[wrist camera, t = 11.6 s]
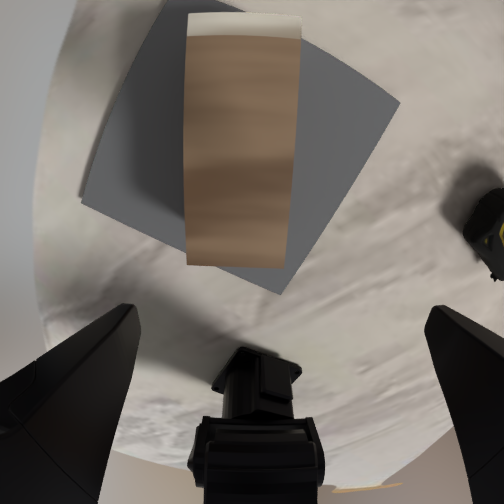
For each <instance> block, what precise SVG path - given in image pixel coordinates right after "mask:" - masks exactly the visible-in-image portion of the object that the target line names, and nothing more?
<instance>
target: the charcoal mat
mask: <svg viewBox="0 0 504 504" xmlns="http://www.w3.org/2000/svg"><path fill="white" fill-rule="evenodd" d="M209 12H245V11H242V10H240V9H237V8H235V7H232V6H230V5H227V4H224V3H222V2H219V1H216V0H168V1H167V3H166V4H165V6H164V7H163V9H162V11H161V12H160V14H159V16H158V17H157V19H156V21H155V23H154V24H153V26H152V28H151V30H150V31H149V33H148V35H147V37H146V39H145V41H144V42H143V44H142V46H141V48H140V50H139V52H138V54H137V56H136V58H135V60H134V62H133V64H132V66H131V68H130V70H129V72H128V74H127V77H126V79H125V81H124V83H123V85H122V88H121V90H120V92H119V94H118V97H117V99H116V101H115V104H114V106H113V109H112V111H111V114H110V116H109V119H108V121H107V124H106V127H105V129H104V132H103V135H102V137H101V140H100V143H99V146H98V149H97V152H96V155H95V158H94V161H93V164H92V167H91V170H90V173H89V177H88V180H87V183H86V187H85V190H84V194H83V198H82V201H81V203H82V204H84V205H86V206H88V207H90V208H92V209H94V210H96V211H98V212H100V213H102V214H104V215H107V216H109V217H111V218H113V219H115V220H117V221H119V222H121V223H123V224H125V225H127V226H129V227H132V228H134V229H136V230H138V231H140V232H142V233H144V234H146V235H148V236H151V237H153V238H155V239H157V240H159V241H161V242H163V243H165V244H168V245H170V246H172V247H174V248H176V249H178V250H181V251H183V252H185V253H186V237H185V212H184V167H183V125H184V82H185V59H186V41H187V26H188V14H189V13H209ZM399 105H400V102H399V101H398V100H396V99H395V98H394V97H393V96H391V95H390V94H389V93H387V92H386V91H385V90H383V89H382V88H380V87H379V86H378V85H376V84H375V83H373V82H372V81H371V80H369V79H368V78H366V77H365V76H363V75H362V74H360V73H359V72H357V71H356V70H354V69H353V68H351V67H350V66H348V65H347V64H345V63H343V62H342V61H340V60H339V59H337V58H335V57H334V56H332V55H330V54H329V53H327V52H325V51H323V50H322V49H320V48H318V47H316V46H315V45H313V44H311V43H309V42H307V41H306V40H304V39H302V38H301V52H300V72H299V91H298V108H297V123H296V138H295V151H294V165H293V177H292V189H291V201H290V212H289V223H288V233H287V244H286V254H285V263H284V269H277V268H248V267H221V266H216V267H218V268H220V269H222V270H224V271H227V272H229V273H231V274H233V275H236V276H238V277H240V278H242V279H245V280H247V281H249V282H251V283H254V284H256V285H258V286H260V287H263V288H265V289H267V290H270V291H272V292H274V293H276V294H279V295H281V294H282V292H283V291H284V289H285V288H286V287H287V285H288V284H289V282H290V281H291V279H292V278H293V276H294V275H295V273H296V272H297V270H298V269H299V267H300V266H301V264H302V263H303V261H304V260H305V258H306V257H307V255H308V254H309V252H310V251H311V249H312V248H313V246H314V245H315V243H316V241H317V240H318V238H319V237H320V235H321V234H322V232H323V231H324V229H325V228H326V226H327V224H328V223H329V221H330V220H331V218H332V217H333V215H334V213H335V212H336V210H337V209H338V207H339V205H340V204H341V202H342V201H343V199H344V197H345V196H346V194H347V193H348V191H349V189H350V188H351V186H352V185H353V183H354V181H355V180H356V178H357V176H358V175H359V173H360V171H361V170H362V168H363V167H364V165H365V163H366V162H367V160H368V158H369V157H370V155H371V153H372V151H373V150H374V148H375V146H376V145H377V143H378V141H379V140H380V138H381V136H382V134H383V133H384V131H385V129H386V128H387V126H388V124H389V122H390V121H391V119H392V117H393V115H394V114H395V112H396V110H397V108H398V107H399Z"/></svg>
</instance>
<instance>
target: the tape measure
mask: <svg viewBox="0 0 504 504" xmlns="http://www.w3.org/2000/svg"><path fill="white" fill-rule="evenodd" d="M463 236H464V238H465V239H466V240H467V241H468V243H469V244H470V245H471V246H472V247H473V248H474V249H475V250H476V251H478V253H479V255H480V257H481V259H482V260H483V262H484V263H485V264H486V265H487V267H488V268H489V270H490V271H491V272H492V274H491V275H490V277H491V278H493V279H494V282H495V281H496V280H497V279H499V280H500V281H504V188H502V189H501V188H497V189H494V190H492V191H490V192H489V193H488V194H486V195H485V196H484V197H483V198H482V199H481V200H480V202H479V205H478V206H477V207H476V210H475V212H474V214H473V216H472V217H471V218H470V220H469V221H468V222H467V224H466V225H465V227H464V230H463Z"/></svg>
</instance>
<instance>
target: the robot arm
mask: <svg viewBox="0 0 504 504" xmlns="http://www.w3.org/2000/svg"><path fill="white" fill-rule="evenodd" d="M424 333H425V337H426V340H427V343H428V347H429V350H430V354H431V357H432V361H433V365H434V368H435V372H436V375H437V378H438V380H439V383H440V386H441V389H442V391H443V394H444V397H445V400H446V403H447V406H448V409H449V412H450V415H451V418H452V422H453V425H454V427H455V431H456V435H457V438H458V442H459V445H460V449H461V453H462V456H463V460H464V464H465V468H466V472H467V477H468V482H469V487H470V491H471V496H472V501H473V504H504V338H502V337H501V336H499V335H497V334H496V333H494V332H492V331H490V330H489V329H487V328H485V327H483V326H481V325H480V324H478V323H476V322H474V321H473V320H471V319H469V318H467V317H465V316H464V315H462V314H460V313H458V312H456V311H455V310H453V309H451V308H449V307H447V306H445V305H436V306H434V307H433V308H432V309H431V311H430V314H429V317H428V319H427V322H426V324H425V328H424ZM140 335H141V326H140V321H139V317H138V312H137V308H136V306H135V305H134V304H125V303H122V304H120V305H118V306H117V307H115V308H114V309H112V310H111V311H109V312H107V313H106V314H104V315H103V316H101V317H100V318H98V319H97V320H95V321H94V322H92V323H90V324H89V325H87V326H86V327H84V328H83V329H81V330H80V331H78V332H77V333H75V334H74V335H72V336H71V337H69V338H68V339H66V340H64V341H63V342H61V343H60V344H58V345H57V346H55V347H54V348H52V349H51V350H49V351H48V352H46V353H45V354H43V355H42V356H40V357H39V358H37V359H36V361H33V362H32V363H30V364H29V365H27V366H26V367H24V368H22V369H21V370H19V371H18V372H16V373H15V374H13V375H12V376H10V377H8V378H7V379H5V380H3V381H1V382H0V504H98V502H97V501H98V499H99V495H100V491H101V486H102V482H103V478H104V474H105V470H106V466H107V462H108V458H109V454H110V450H111V447H112V443H113V439H114V436H115V432H116V429H117V425H118V422H119V418H120V415H121V412H122V408H123V405H124V402H125V398H126V395H127V392H128V389H129V385H130V382H131V379H132V374H133V370H134V364H135V359H136V354H137V350H138V345H139V340H140ZM241 352H244V353H241ZM301 374H302V368H301V367H300V366H297V365H294V364H291V363H288V362H285V361H282V360H279V359H276V358H273V357H270V356H267V355H264V354H262V353H259V352H256V351H253V350H251V349H248V348H245V347H240V348H238V349H237V350H236V351H235V353H234V354H233V356H232V357H231V359H230V360H229V361H228V363H227V364H226V365H225V367H224V368H223V370H222V371H221V372H220V374H219V375H218V377H217V378H216V379H215V381H214V382H213V383H212V387H211V389H212V390H213V391H215V392H218V393H221V394H224V397H223V411H222V418H212V417H210V416H203V419H202V424H201V423H200V424H199V426H197V427H196V434H195V441H194V445H193V448H192V451H191V453H190V456H189V459H188V463H187V467H188V468H189V469H190V470H191V471H192V472H193V476H194V478H195V483H196V487H202V488H204V504H317V491H318V487H320V486H322V484H323V481H324V475H325V457H324V452H323V448H322V445H321V442H320V439H319V436H318V433H317V430H316V427H315V424H314V421H313V418H312V417H306V418H305V419H294V414H293V406H292V399H293V393H292V385H291V384H292V383H293V382H294V381H295V380H296V379H297V378H298V377H299V376H300V375H301Z"/></svg>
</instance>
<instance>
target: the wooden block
mask: <svg viewBox="0 0 504 504" xmlns="http://www.w3.org/2000/svg"><path fill="white" fill-rule="evenodd" d="M301 27H302V16H293V15H283V14H270V13H250V12H209V13H189V14H188V26H187V41H186V59H185V82H184V125H183V167H184V212H185V237H186V256H187V265H197V266H221V267H248V268H277V269H284V263H285V254H286V244H287V233H288V223H289V212H290V201H291V189H292V177H293V165H294V151H295V138H296V123H297V108H298V91H299V72H300V52H301Z"/></svg>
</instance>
